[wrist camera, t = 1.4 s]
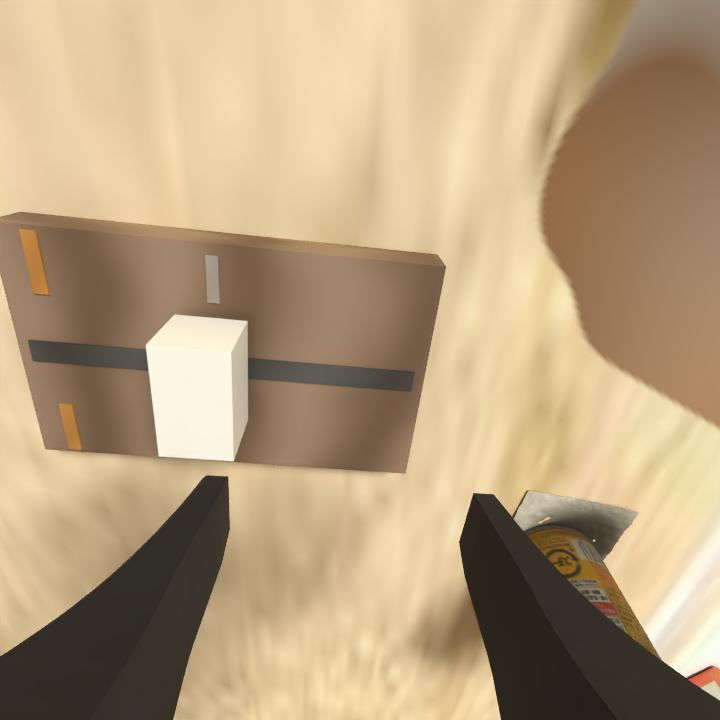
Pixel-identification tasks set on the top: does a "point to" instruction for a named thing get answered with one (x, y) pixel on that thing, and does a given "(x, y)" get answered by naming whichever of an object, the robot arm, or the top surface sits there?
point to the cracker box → (708, 681)
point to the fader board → (225, 301)
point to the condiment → (583, 550)
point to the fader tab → (199, 386)
